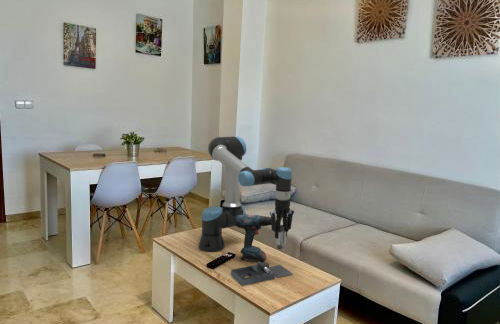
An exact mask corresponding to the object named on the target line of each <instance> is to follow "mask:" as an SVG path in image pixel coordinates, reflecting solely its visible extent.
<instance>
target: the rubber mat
mask: <svg viewBox="0 0 500 324" xmlns="http://www.w3.org/2000/svg"><path fill="white" fill-rule="evenodd" d="M269 269H270V270H272V271H273V272H274V273H275V278H277V279H279V278H283V277H288V276H292V275H293V276H294V273H293V272H291V271H290V270H288V269H287V268H285V267H284V266H283V265H281V264H277V265H271V266H269Z"/></svg>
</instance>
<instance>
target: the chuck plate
mask: <svg viewBox="0 0 500 324" xmlns="http://www.w3.org/2000/svg"><path fill="white" fill-rule="evenodd" d="M269 267H270V264H269V263H268V262H266V261H265V262H262V263H260V262H256V264H253V265H249V266H248V265H247V266H244V267H239V268H234V269H231V271H230V276H231V277H232V278H233V279H234V280H235V281H236V282H237V283H238V284H240V285H241V286H242V287H244V286H248V285H253V284H259V283H261V282H265V281H266V282H267V281H270V280H275V279H276V276H275V273H274V272H273V271H272V270H270V269H269Z"/></svg>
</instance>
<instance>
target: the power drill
mask: <svg viewBox="0 0 500 324" xmlns="http://www.w3.org/2000/svg"><path fill="white" fill-rule="evenodd" d="M235 224H236V227H237V228H238V229H243V230H244V231H245V234H244V241H243V247H242V248H241V249H240V253H241V254H242V255H241V257H240V261H242V262H243V261H245V262H252V263H254V262H255V263H257V262H260V263H262V262H266V260H267V255H266V253H265V252H264V250H262V249H261V248H260V247H259V246H257V245H256V246H255V245H253V243H254V238H255V236H257V235H259V234H260V233H259V230H261V229H262V227H268V226H271V216H266V215H265V216H263V215H259V214H244V215H237V216H236V217H235Z"/></svg>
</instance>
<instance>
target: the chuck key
mask: <svg viewBox="0 0 500 324" xmlns="http://www.w3.org/2000/svg"><path fill="white" fill-rule="evenodd" d="M284 230H285V226H284V225H283V224H280V229H279V232H280V245H277V244H276V245H277V248H276V249H278V250H283V249H284V244H283V236H284Z"/></svg>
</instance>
